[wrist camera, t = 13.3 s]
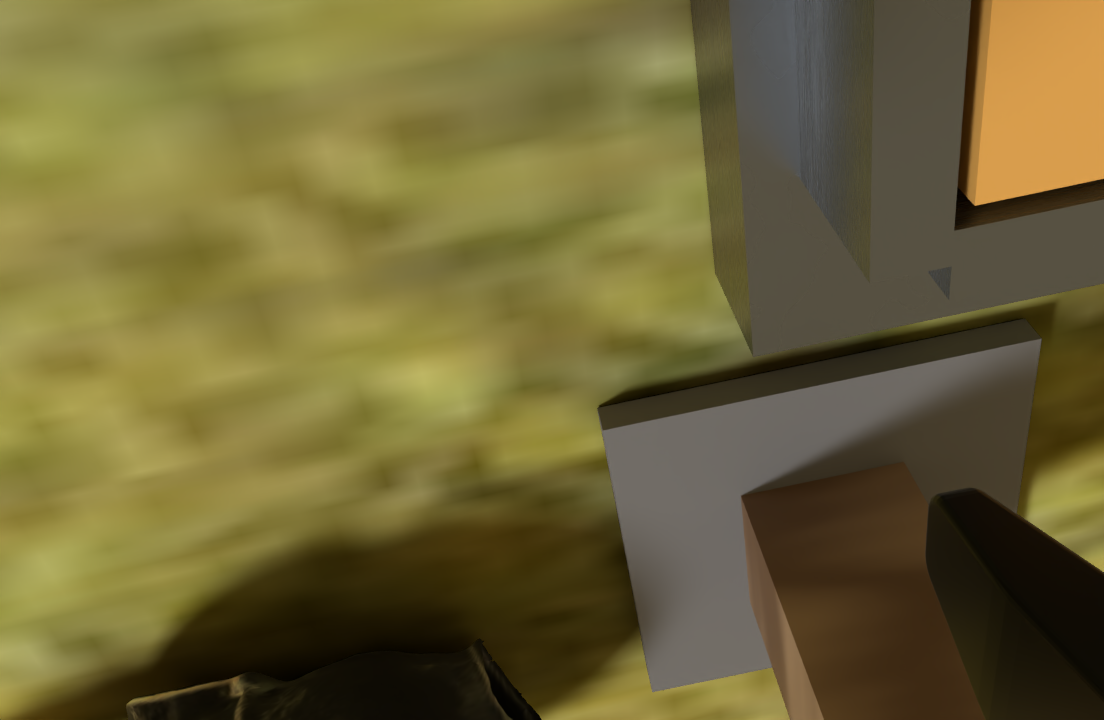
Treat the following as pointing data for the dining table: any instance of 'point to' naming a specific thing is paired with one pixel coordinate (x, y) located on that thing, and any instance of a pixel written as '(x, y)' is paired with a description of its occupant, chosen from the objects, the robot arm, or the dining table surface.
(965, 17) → the box
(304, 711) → the black rounded piece
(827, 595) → the brown wooden block
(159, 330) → the dining table surface
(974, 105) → the orange square block
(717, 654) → the mat
